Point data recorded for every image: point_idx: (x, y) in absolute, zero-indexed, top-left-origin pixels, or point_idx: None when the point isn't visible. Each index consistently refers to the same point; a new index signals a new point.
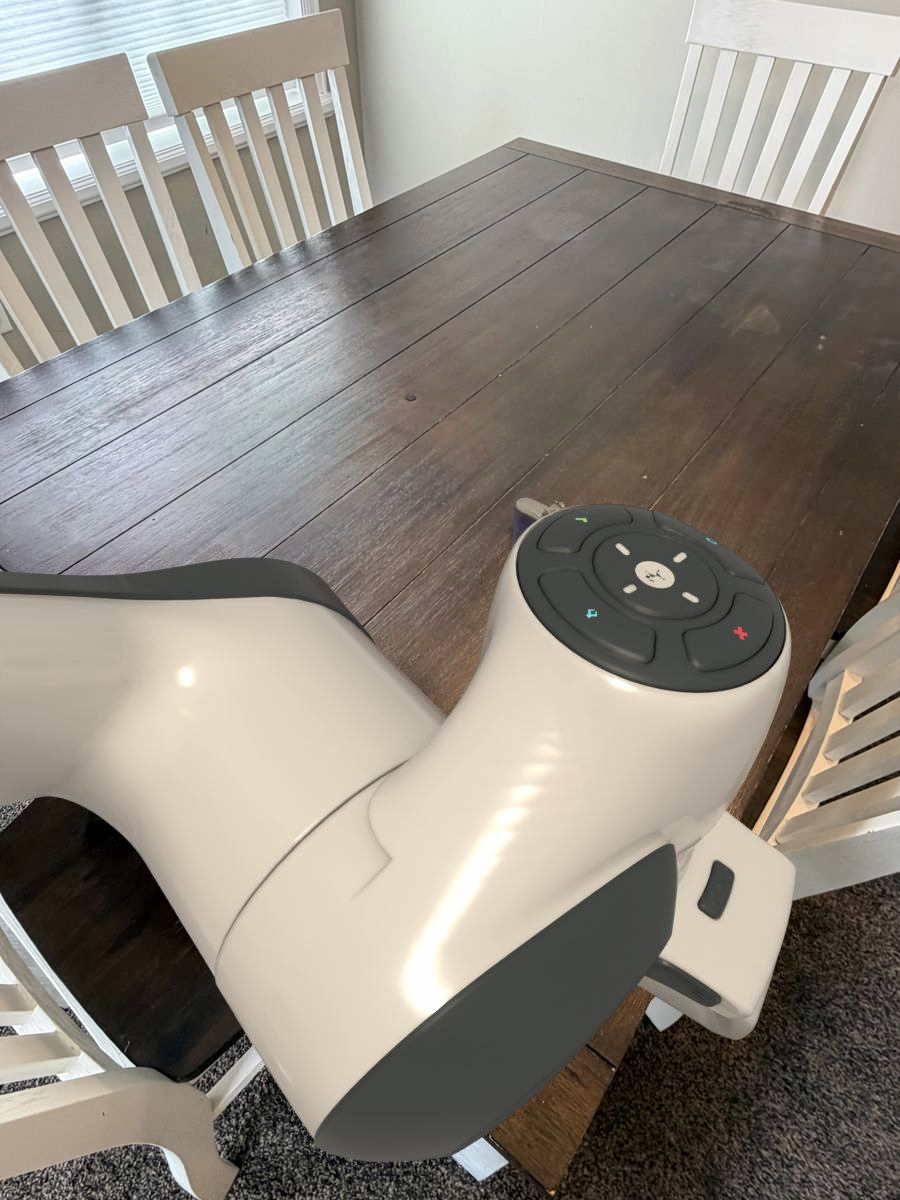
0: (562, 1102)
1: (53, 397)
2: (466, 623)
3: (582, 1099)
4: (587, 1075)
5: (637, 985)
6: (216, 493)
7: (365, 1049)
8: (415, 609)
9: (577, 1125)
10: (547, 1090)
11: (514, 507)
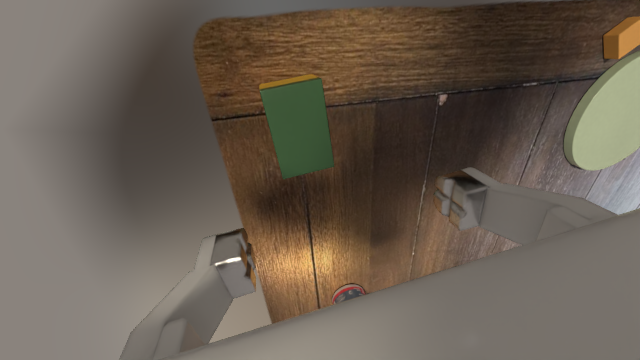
0: (216, 73)
1: None
2: (453, 251)
3: (207, 86)
4: (216, 102)
5: (182, 281)
6: (631, 200)
7: None
8: (484, 236)
9: (196, 68)
10: (230, 71)
11: None
